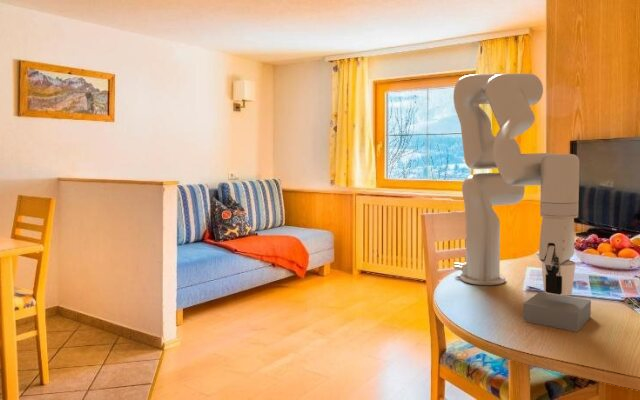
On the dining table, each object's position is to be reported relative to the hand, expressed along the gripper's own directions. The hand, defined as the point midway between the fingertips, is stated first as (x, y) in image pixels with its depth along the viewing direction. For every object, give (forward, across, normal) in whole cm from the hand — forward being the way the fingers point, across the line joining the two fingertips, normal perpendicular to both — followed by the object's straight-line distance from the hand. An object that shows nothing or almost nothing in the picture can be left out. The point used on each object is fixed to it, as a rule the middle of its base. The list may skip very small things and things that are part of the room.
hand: (557, 289), depth 106 cm
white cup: (+1, 0, 0) cm, 1 cm away
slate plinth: (+7, 0, 0) cm, 7 cm away
